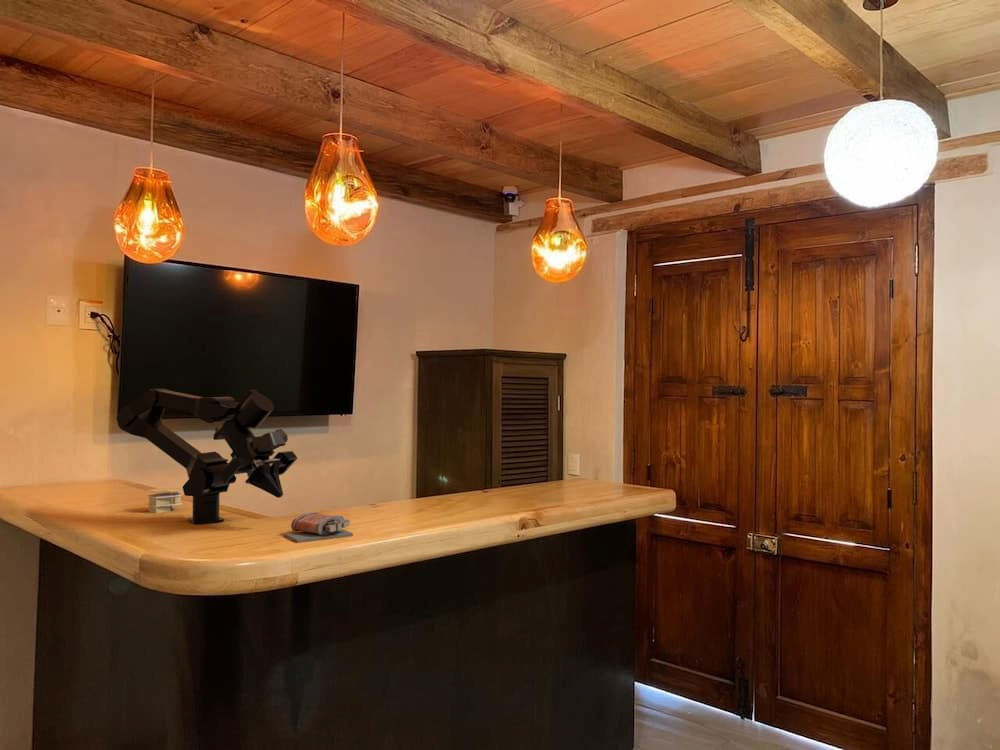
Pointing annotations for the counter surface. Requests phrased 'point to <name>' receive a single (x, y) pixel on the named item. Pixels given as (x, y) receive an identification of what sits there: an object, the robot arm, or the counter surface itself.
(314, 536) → the mat
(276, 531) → the counter surface
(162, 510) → the stacked layers on plate
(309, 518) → the lighter
